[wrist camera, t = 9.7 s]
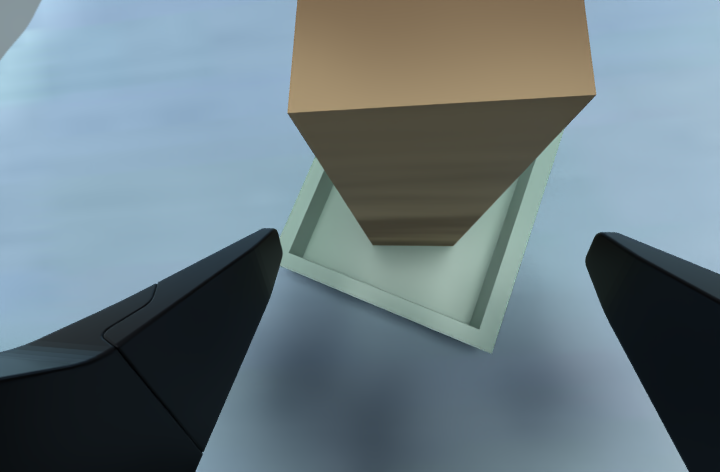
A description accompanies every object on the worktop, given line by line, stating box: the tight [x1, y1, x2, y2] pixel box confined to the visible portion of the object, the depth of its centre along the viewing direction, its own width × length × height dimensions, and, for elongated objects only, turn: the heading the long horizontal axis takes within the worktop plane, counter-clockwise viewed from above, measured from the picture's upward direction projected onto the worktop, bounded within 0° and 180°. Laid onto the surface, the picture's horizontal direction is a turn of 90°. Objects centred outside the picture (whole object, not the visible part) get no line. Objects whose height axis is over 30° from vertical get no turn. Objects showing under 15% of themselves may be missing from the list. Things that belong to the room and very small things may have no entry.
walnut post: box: [288, 0, 596, 246], centre depth 11 cm, size 4×4×13 cm
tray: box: [279, 129, 564, 354], centre depth 17 cm, size 12×12×3 cm
